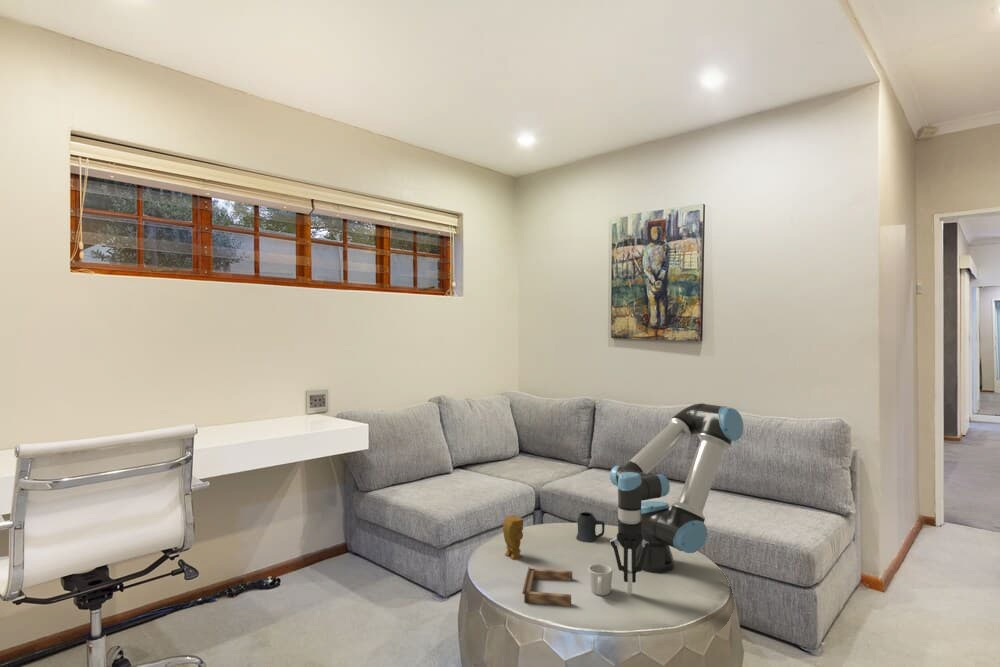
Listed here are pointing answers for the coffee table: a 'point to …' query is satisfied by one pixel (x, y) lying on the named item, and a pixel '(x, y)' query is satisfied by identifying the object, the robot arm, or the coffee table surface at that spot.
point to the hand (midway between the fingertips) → (629, 591)
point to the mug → (588, 527)
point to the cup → (600, 579)
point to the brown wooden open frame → (546, 597)
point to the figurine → (513, 535)
